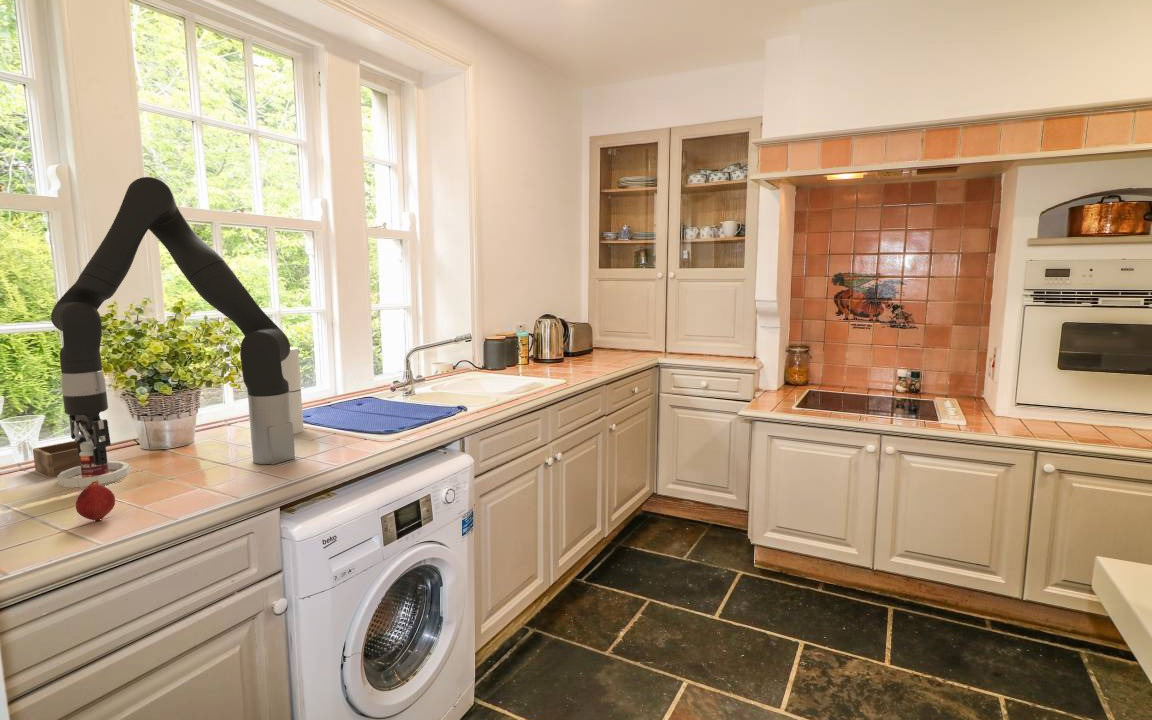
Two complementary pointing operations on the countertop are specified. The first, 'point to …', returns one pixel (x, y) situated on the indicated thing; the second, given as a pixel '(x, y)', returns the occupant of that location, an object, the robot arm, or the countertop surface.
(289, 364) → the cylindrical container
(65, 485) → the white ring
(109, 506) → the onion
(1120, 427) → the countertop surface
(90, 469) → the pill bottle
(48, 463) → the walnut crate
